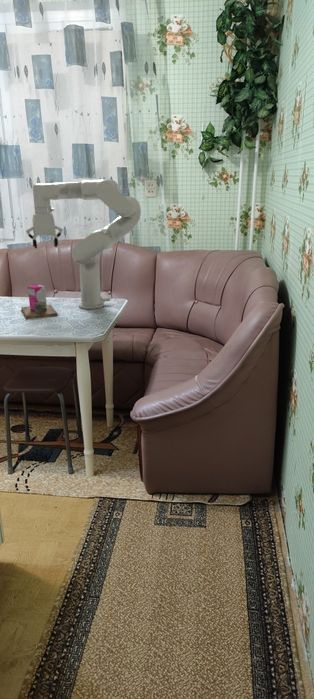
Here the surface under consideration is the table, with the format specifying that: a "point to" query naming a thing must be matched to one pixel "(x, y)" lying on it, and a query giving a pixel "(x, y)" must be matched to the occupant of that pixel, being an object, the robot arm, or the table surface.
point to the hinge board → (39, 311)
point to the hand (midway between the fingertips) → (45, 247)
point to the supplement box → (36, 295)
